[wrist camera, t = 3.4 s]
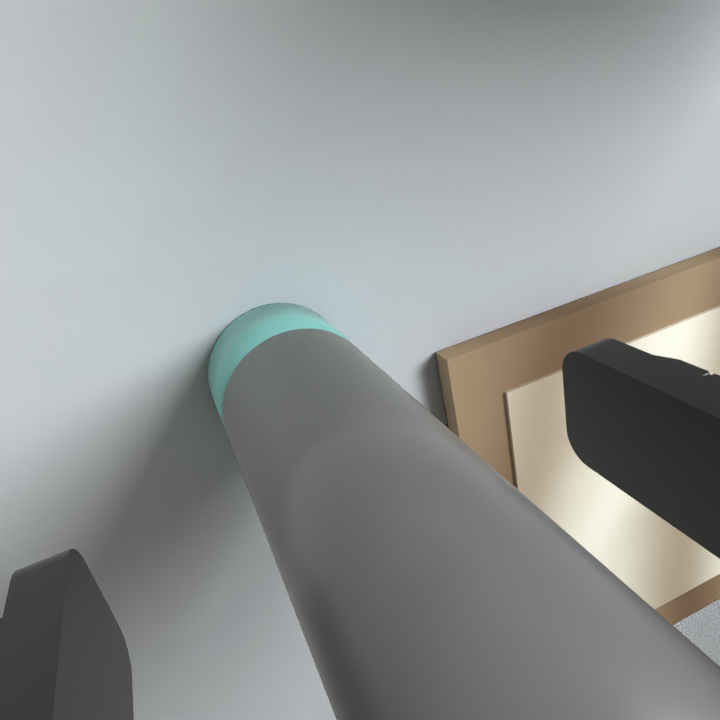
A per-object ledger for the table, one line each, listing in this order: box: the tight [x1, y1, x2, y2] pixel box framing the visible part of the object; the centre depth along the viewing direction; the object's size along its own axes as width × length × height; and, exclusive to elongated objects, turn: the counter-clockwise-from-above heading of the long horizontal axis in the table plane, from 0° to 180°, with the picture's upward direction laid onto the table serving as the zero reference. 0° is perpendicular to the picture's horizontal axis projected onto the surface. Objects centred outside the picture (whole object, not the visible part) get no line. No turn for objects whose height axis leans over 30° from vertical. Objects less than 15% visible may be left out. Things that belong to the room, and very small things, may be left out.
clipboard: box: [436, 247, 720, 625], centre depth 20 cm, size 18×14×2 cm
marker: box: [208, 303, 720, 720], centre depth 8 cm, size 3×3×13 cm
